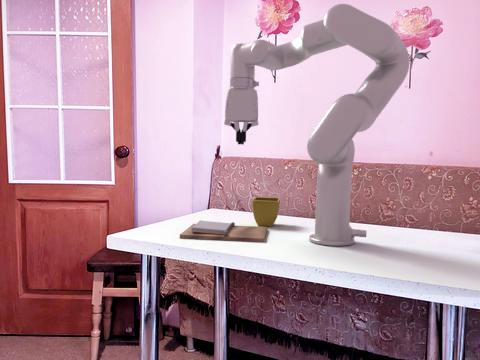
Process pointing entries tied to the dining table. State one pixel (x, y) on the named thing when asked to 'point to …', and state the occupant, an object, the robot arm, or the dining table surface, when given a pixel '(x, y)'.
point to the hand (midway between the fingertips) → (240, 144)
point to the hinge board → (230, 234)
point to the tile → (211, 227)
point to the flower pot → (265, 210)
